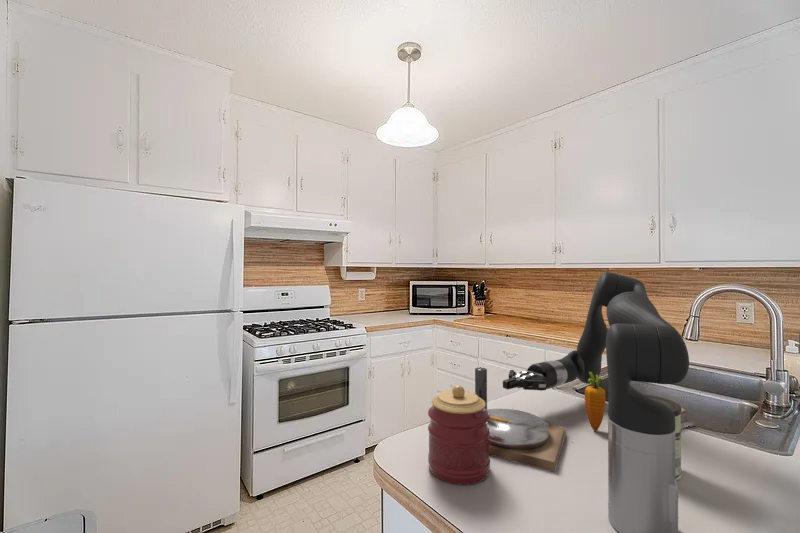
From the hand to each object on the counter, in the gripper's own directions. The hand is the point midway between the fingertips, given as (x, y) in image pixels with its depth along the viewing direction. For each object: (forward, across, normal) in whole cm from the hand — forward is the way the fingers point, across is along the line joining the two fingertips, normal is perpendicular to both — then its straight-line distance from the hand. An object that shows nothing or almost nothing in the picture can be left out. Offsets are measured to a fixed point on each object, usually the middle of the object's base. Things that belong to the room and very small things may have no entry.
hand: (504, 385), depth 100 cm
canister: (+25, +11, +11) cm, 29 cm away
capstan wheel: (+6, +7, +8) cm, 12 cm away
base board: (+6, +7, +11) cm, 14 cm away
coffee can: (-10, +31, +11) cm, 35 cm away
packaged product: (-35, +20, +12) cm, 42 cm away
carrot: (-17, +15, +11) cm, 25 cm away
